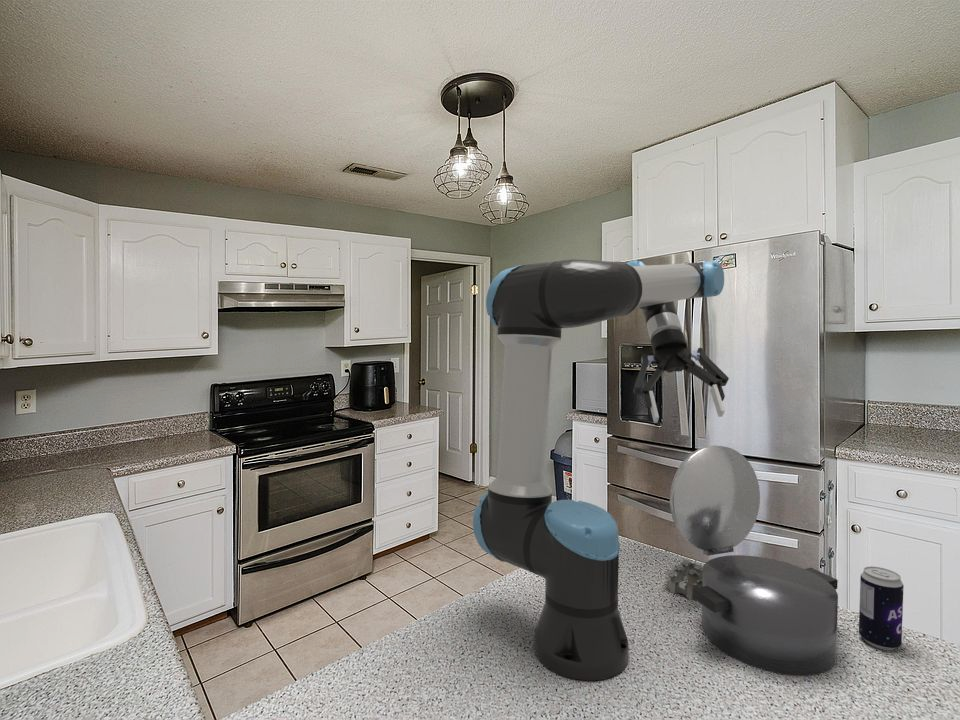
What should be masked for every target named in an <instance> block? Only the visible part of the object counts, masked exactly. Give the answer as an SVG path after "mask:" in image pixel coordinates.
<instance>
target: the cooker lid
mask: <svg viewBox="0 0 960 720" xmlns="http://www.w3.org/2000/svg"><path fill="white" fill-rule="evenodd" d="M754 469H755V468H754V467H753V466H752V465H751V463H750V462H749V460H748V459H747V458H746V457H745V456H744V455H743V454H742V453H740V452H739V451H737V450H736V449H734V448H731V447H728V446H724V445H723V446H722V445H716V444H715V445H707V446H706V445H705V446H703V447H700V448H698V449H696V450H694V451H693V452H691V453H689V454H688V456H686V458H685V459H684V460H683V461H682V462H681V464H680V465H679V466H678V468H677V470H676V472H675V474H674V476H673V479H672V483H671V487H670V493H669V506H670V507H669V508H670V513H671V517H672V520H673V523H674V525H675V527H676V529H677V531H678V533H679V534H680V536H681V537H683V539H684V540H685V541H686V542H687V543H688V544H690V545H692V546H693V547H695V548H697V549H700V550H702V553H703V555H706V556H715V555H722V554H727V553H728V554H729V553H733V552H735V551H734V548H735V547H737V546H738V545H740V544H741V543H742V542H743V541H744V540H745V539H746V538H747V537H748V535H750V532H751V531H752V529H753V527H754V525H755V523H756V521H757V518H758V514H759V510H760V503H761V491H760V484H759V480H758V477H757V475H756V471H755V470H754Z"/></svg>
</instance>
